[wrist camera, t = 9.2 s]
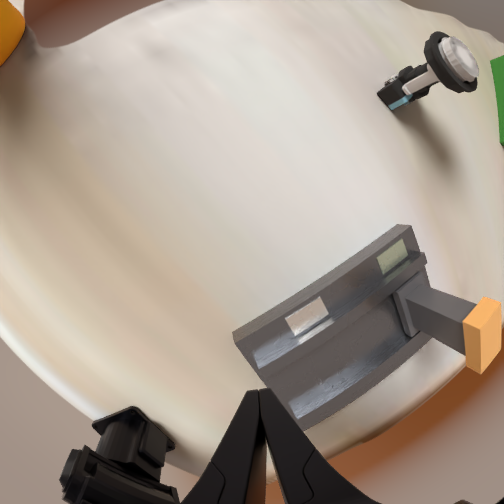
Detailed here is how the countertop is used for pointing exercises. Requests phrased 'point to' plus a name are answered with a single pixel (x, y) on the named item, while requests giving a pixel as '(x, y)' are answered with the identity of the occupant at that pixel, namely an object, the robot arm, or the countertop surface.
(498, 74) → the hardback book
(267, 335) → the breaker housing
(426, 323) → the lever
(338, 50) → the countertop surface
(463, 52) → the push button
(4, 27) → the beer bottle
